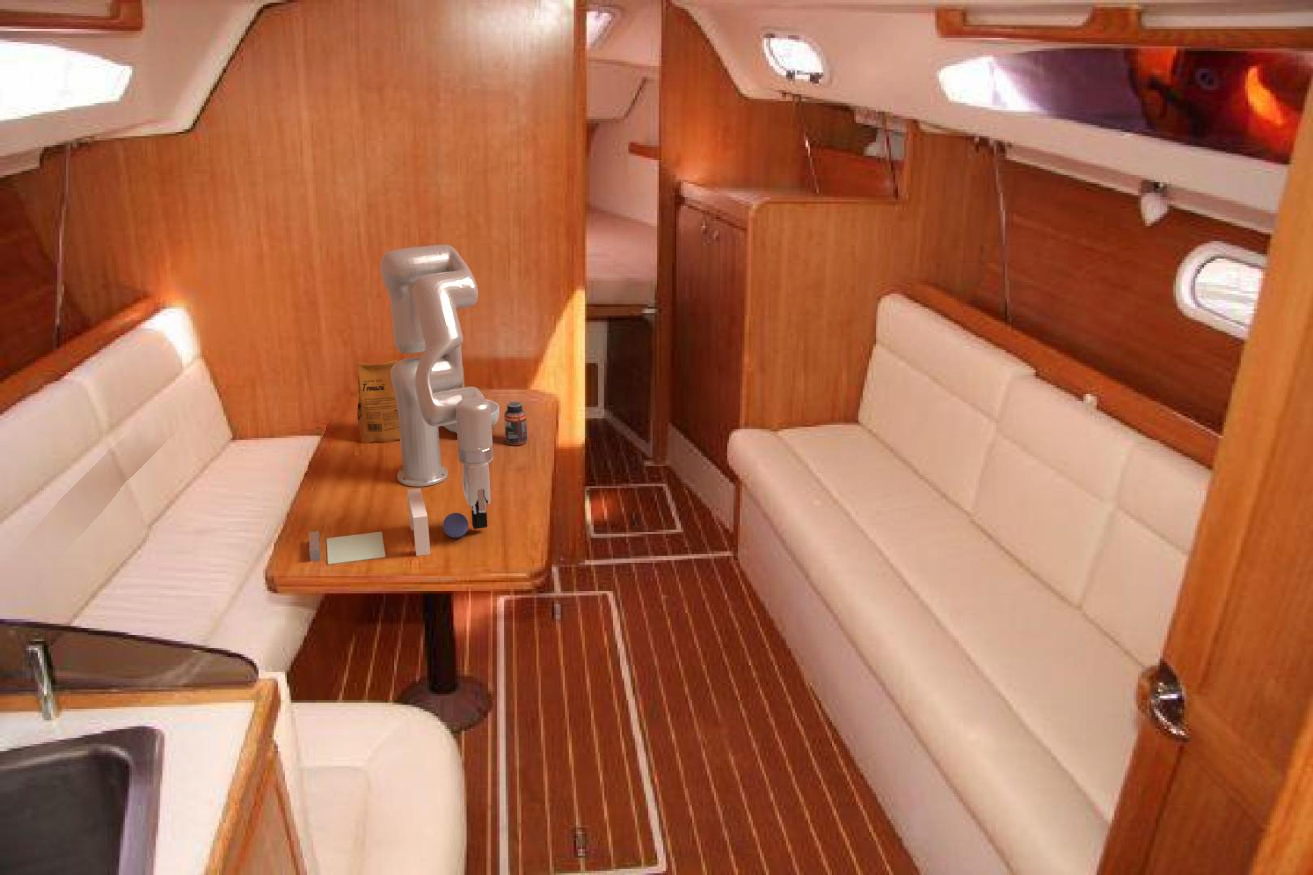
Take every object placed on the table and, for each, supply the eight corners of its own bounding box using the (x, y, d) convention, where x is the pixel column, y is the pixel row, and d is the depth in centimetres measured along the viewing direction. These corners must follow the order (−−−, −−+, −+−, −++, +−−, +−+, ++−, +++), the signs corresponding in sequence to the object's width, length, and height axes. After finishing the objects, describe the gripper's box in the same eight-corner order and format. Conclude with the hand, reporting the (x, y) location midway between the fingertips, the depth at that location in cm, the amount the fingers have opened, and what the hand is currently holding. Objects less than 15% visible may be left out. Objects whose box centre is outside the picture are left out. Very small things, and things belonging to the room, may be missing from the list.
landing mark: (326, 539, 233) (326, 538, 233) (381, 532, 237) (381, 531, 237) (327, 564, 223) (327, 563, 223) (385, 557, 226) (385, 556, 226)
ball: (469, 514, 238) (456, 534, 239) (448, 505, 235) (435, 525, 236) (475, 524, 233) (463, 545, 234) (454, 515, 230) (441, 536, 231)
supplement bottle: (528, 438, 289) (526, 400, 285) (526, 446, 284) (525, 407, 279) (506, 438, 289) (504, 400, 285) (504, 446, 284) (502, 407, 279)
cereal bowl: (506, 421, 301) (505, 398, 298) (492, 443, 286) (491, 419, 283) (449, 418, 302) (447, 395, 300) (432, 440, 287) (430, 416, 284)
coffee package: (360, 431, 292) (352, 357, 284) (405, 428, 295) (399, 354, 286) (358, 445, 283) (350, 368, 275) (405, 441, 286) (398, 365, 277)
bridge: (416, 555, 227) (413, 517, 223) (410, 526, 240) (407, 489, 236) (430, 554, 228) (427, 516, 224) (423, 524, 241) (420, 488, 237)
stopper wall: (310, 542, 232) (309, 532, 231) (319, 541, 232) (318, 531, 232) (310, 561, 224) (309, 551, 223) (320, 560, 225) (319, 549, 224)
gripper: (453, 442, 235) (458, 514, 243) (463, 468, 222) (468, 544, 229) (486, 438, 238) (490, 510, 245) (498, 464, 225) (502, 539, 232)
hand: (479, 526), depth 237 cm, fingers closed
